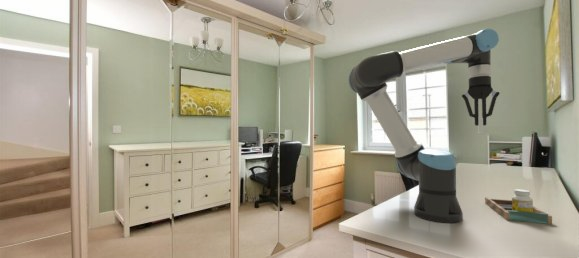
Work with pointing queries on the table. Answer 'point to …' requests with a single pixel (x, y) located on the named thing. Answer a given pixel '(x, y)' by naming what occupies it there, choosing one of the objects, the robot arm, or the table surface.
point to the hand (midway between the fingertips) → (480, 133)
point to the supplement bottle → (522, 201)
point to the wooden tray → (517, 212)
